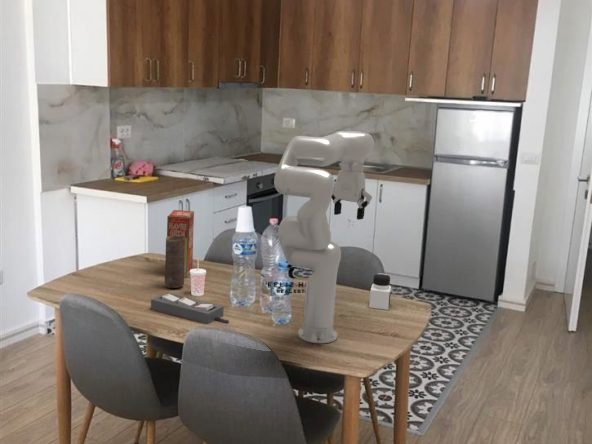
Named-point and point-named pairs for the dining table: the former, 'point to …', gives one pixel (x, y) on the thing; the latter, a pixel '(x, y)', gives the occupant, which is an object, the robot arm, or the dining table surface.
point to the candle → (174, 261)
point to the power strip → (188, 309)
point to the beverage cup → (197, 281)
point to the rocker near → (204, 306)
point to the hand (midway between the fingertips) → (348, 216)
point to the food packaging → (183, 234)
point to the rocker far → (170, 298)
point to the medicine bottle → (380, 292)
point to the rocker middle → (186, 302)
